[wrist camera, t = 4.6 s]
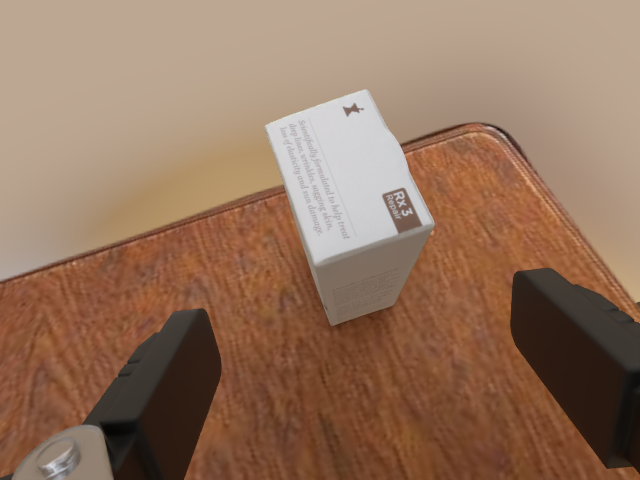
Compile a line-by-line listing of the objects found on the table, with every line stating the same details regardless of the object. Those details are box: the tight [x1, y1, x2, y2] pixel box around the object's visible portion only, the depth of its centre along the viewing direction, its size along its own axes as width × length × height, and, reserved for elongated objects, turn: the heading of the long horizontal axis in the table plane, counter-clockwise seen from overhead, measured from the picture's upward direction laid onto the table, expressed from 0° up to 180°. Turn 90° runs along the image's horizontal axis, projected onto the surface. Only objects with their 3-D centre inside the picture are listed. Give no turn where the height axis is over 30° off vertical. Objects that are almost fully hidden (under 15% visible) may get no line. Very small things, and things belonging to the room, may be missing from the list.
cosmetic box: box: [265, 89, 435, 326], centre depth 18 cm, size 6×4×12 cm
